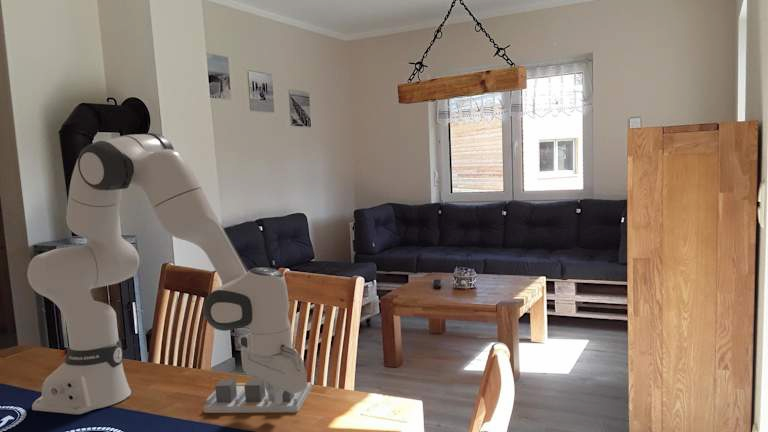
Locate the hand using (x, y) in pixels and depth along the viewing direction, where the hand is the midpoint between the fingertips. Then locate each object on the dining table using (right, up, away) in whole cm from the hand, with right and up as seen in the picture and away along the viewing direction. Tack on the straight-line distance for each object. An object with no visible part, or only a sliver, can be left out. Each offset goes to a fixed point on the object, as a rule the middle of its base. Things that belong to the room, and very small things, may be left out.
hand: (275, 402), depth 134 cm
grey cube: (+1, -1, +7) cm, 7 cm away
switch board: (-6, -3, +11) cm, 12 cm away
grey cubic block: (-6, -2, +8) cm, 10 cm away
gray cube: (-13, -2, +8) cm, 16 cm away
